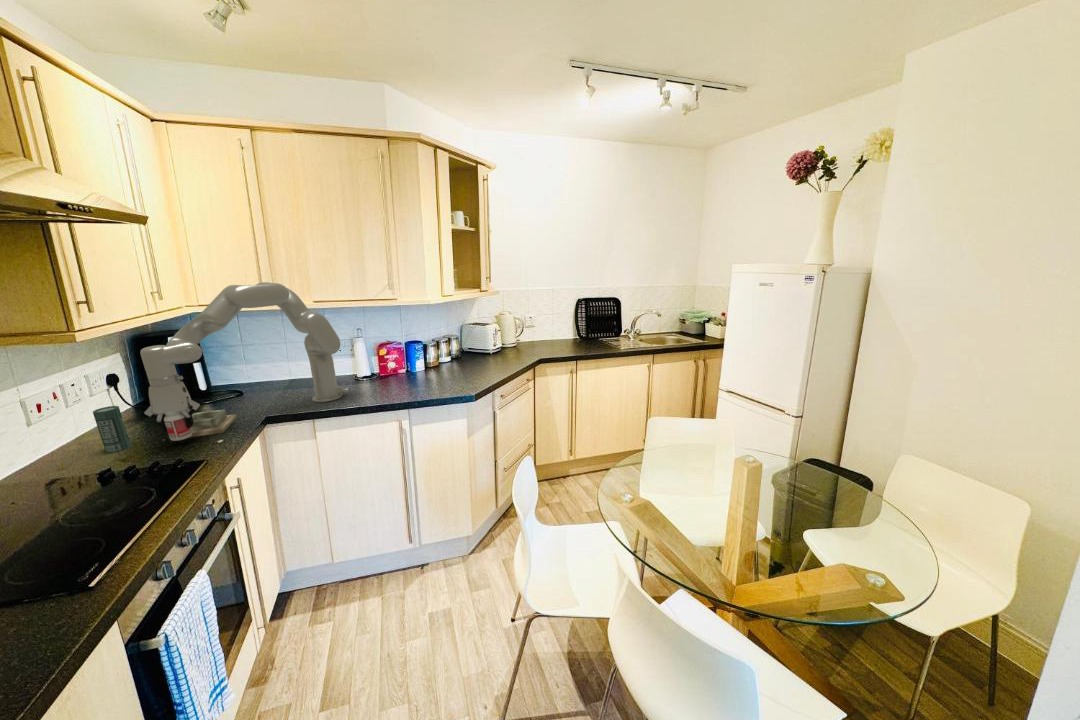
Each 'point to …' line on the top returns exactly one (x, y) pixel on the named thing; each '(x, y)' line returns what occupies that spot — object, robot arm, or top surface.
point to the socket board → (211, 422)
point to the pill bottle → (176, 426)
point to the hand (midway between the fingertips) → (178, 428)
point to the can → (111, 428)
